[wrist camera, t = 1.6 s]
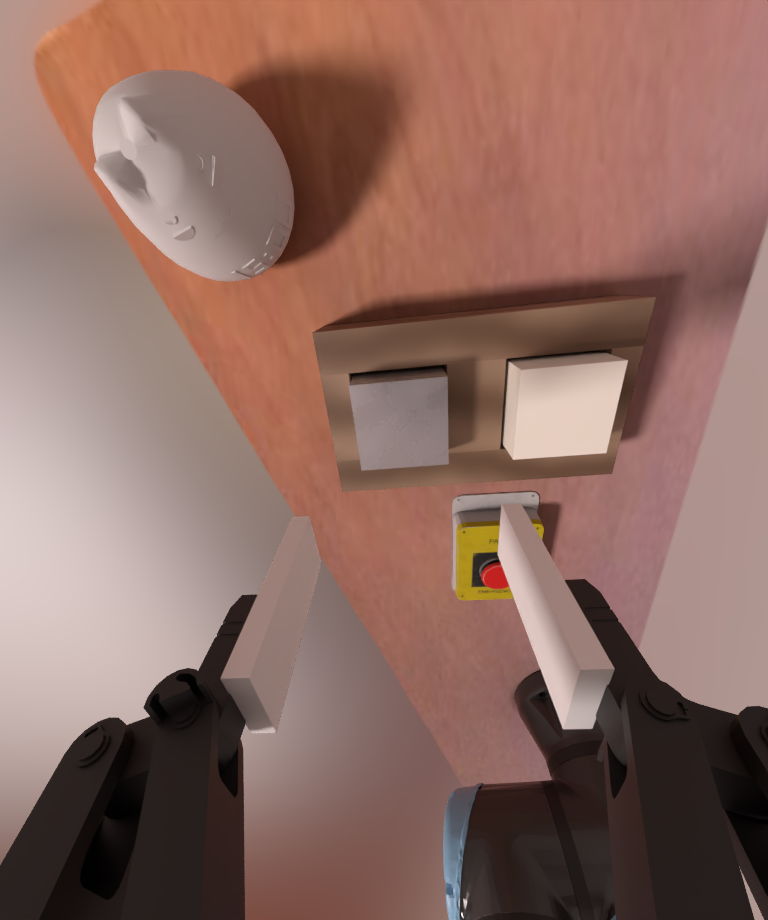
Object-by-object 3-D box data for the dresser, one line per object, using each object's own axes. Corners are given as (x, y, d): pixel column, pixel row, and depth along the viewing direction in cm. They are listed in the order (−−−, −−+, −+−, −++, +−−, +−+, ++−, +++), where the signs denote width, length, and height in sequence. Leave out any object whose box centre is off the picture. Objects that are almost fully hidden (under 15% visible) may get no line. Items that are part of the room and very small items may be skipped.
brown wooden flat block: (586, 451, 33) (611, 473, 29) (348, 468, 35) (342, 491, 31) (617, 294, 27) (656, 297, 23) (324, 325, 29) (312, 332, 25)
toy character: (257, 311, 28) (174, 328, 18) (140, 208, 25) (-46, 152, 15) (334, 199, 24) (287, 135, 14) (207, 61, 21) (22, -158, 11)
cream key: (584, 435, 29) (606, 453, 26) (500, 441, 29) (513, 459, 26) (600, 351, 25) (628, 360, 22) (506, 359, 26) (521, 369, 23)
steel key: (443, 445, 29) (448, 464, 26) (365, 451, 30) (361, 470, 27) (441, 365, 26) (447, 376, 23) (354, 374, 27) (348, 385, 24)
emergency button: (456, 618, 40) (458, 517, 33) (450, 588, 44) (451, 492, 37) (536, 615, 39) (555, 512, 32) (523, 585, 43) (538, 487, 36)
